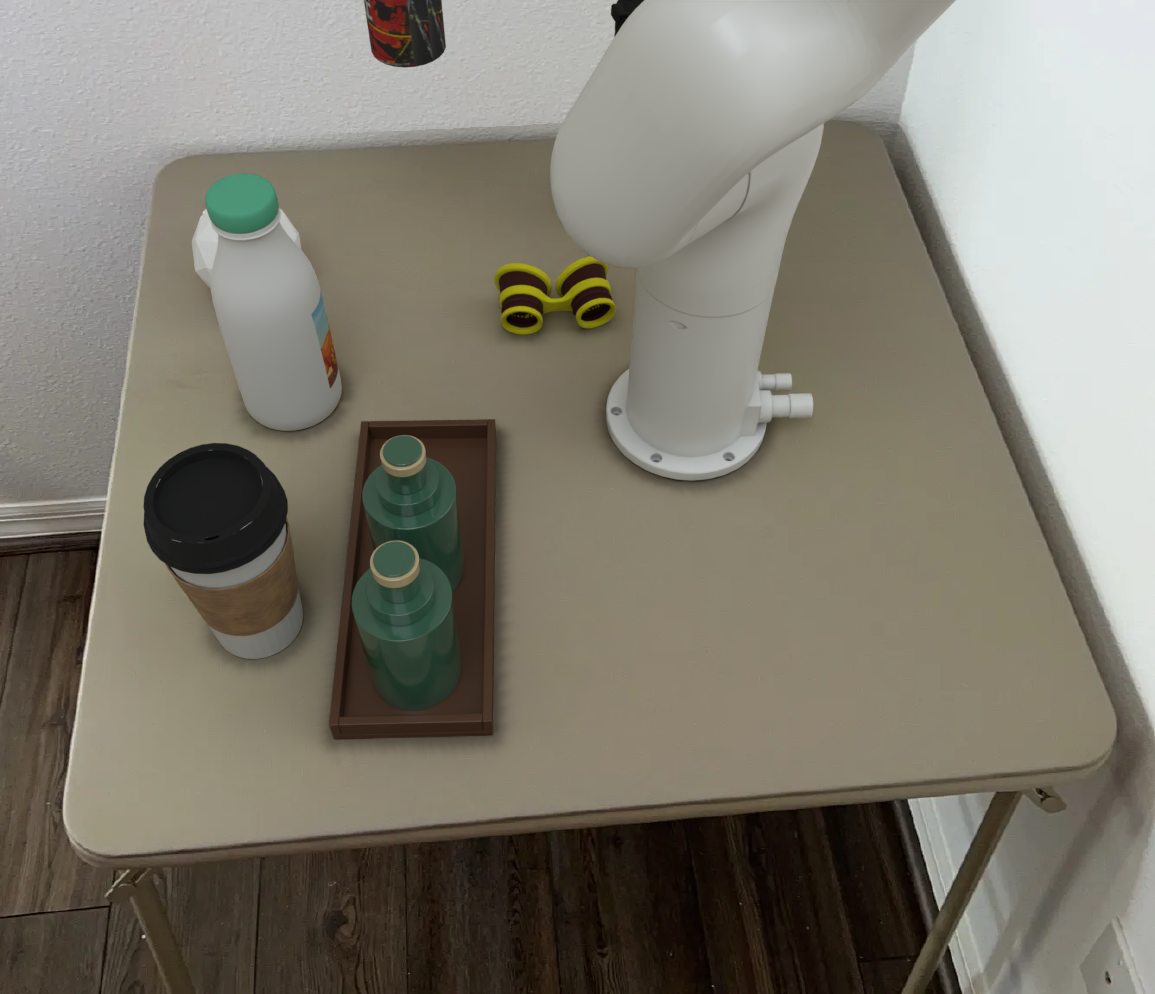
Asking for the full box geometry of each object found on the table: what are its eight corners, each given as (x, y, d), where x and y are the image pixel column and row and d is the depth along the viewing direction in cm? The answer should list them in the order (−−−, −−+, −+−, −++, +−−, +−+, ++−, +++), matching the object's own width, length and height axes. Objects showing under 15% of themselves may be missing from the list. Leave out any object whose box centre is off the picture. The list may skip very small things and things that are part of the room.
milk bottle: (324, 441, 87) (274, 238, 71) (230, 425, 88) (159, 221, 72) (356, 370, 92) (315, 164, 76) (266, 355, 93) (206, 149, 77)
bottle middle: (465, 533, 82) (452, 412, 71) (463, 604, 78) (449, 487, 67) (382, 534, 81) (356, 413, 71) (376, 606, 78) (348, 489, 67)
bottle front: (462, 629, 77) (448, 514, 66) (460, 709, 73) (444, 602, 63) (374, 631, 77) (345, 516, 66) (367, 712, 73) (336, 604, 62)
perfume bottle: (338, 285, 95) (286, 221, 102) (282, 206, 88) (230, 143, 95) (253, 346, 94) (207, 276, 102) (190, 271, 87) (144, 202, 94)
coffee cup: (203, 690, 74) (135, 563, 62) (192, 585, 79) (127, 449, 67) (330, 659, 76) (288, 530, 64) (312, 558, 81) (270, 421, 69)
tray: (496, 436, 88) (495, 418, 86) (493, 735, 73) (491, 721, 71) (364, 438, 88) (360, 420, 86) (333, 739, 72) (328, 725, 71)
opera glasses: (501, 344, 95) (501, 310, 91) (494, 293, 97) (493, 257, 93) (615, 333, 96) (620, 298, 92) (605, 283, 98) (609, 246, 94)
